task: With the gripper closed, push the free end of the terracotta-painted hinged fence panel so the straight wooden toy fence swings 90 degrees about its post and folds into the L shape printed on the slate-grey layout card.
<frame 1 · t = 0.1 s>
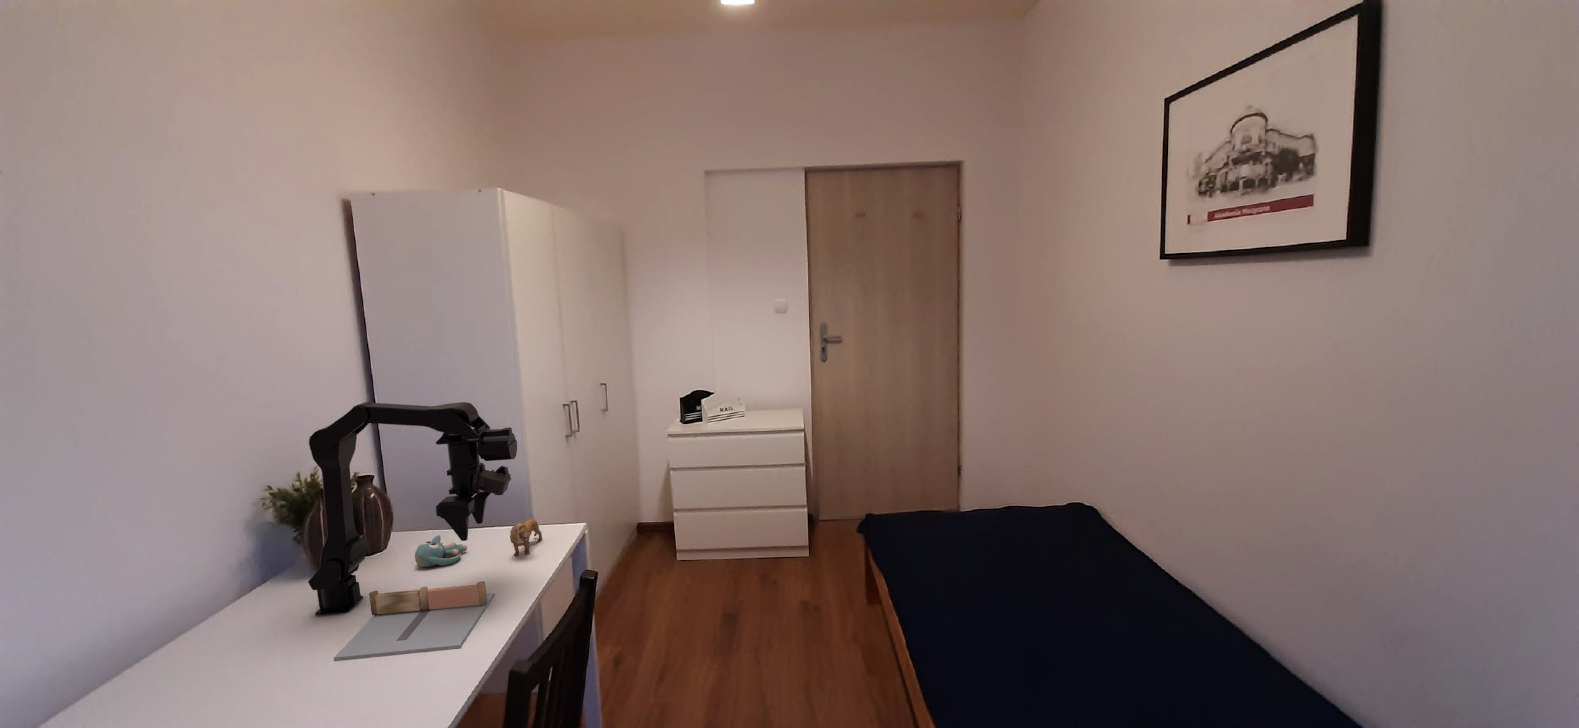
hand: (472, 531, 137), 15 cm above the table, tool pointing down, fingers open, 9 cm apart
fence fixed: (426, 612, 133), resting on layout card
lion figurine: (528, 550, 162), on the table
layout card: (421, 624, 128), on the table
fence panel: (454, 595, 133), point 3 cm above the table, hinge at 0.0°
stuffed animal: (442, 561, 157), on the table
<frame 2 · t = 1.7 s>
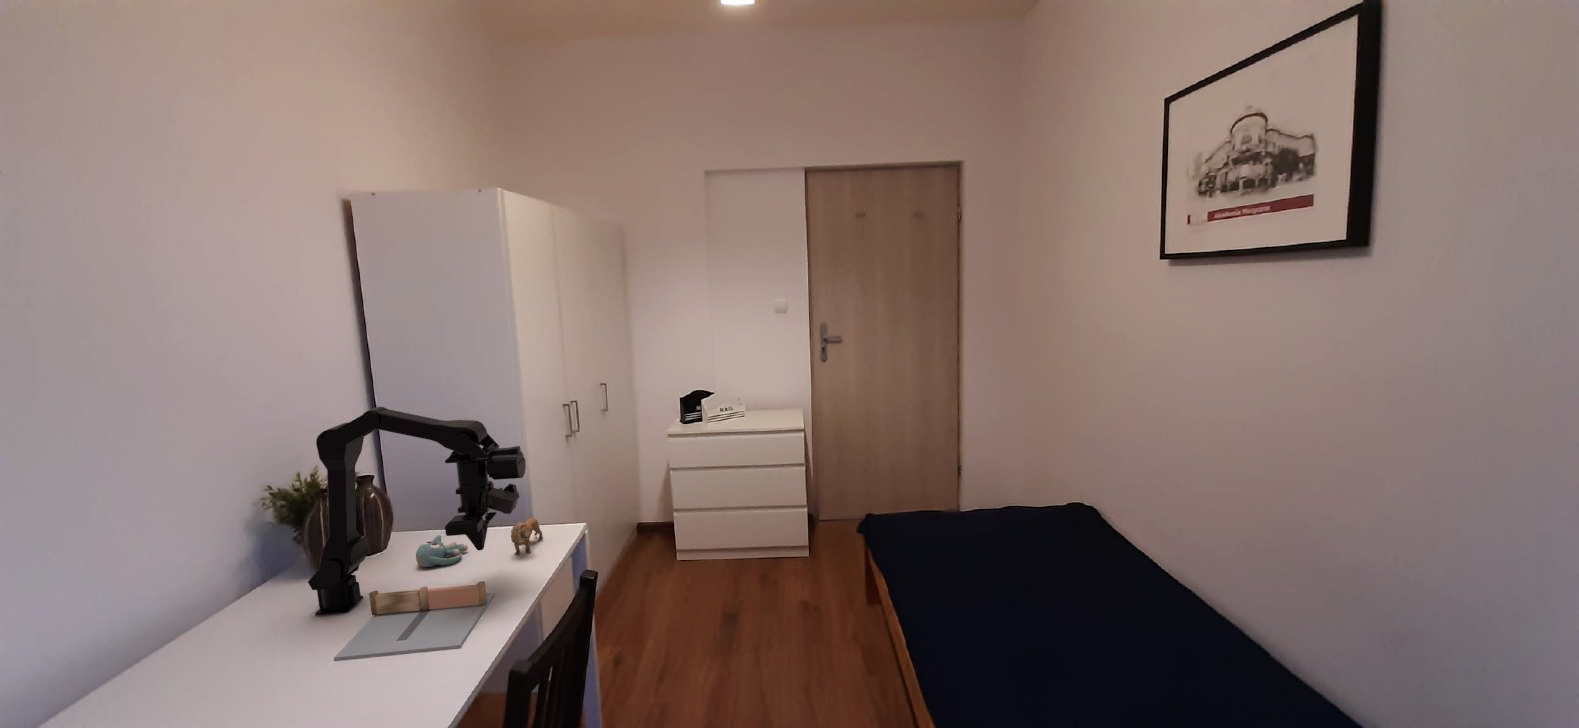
hand: (480, 549, 138), 10 cm above the table, tool pointing down, fingers closed
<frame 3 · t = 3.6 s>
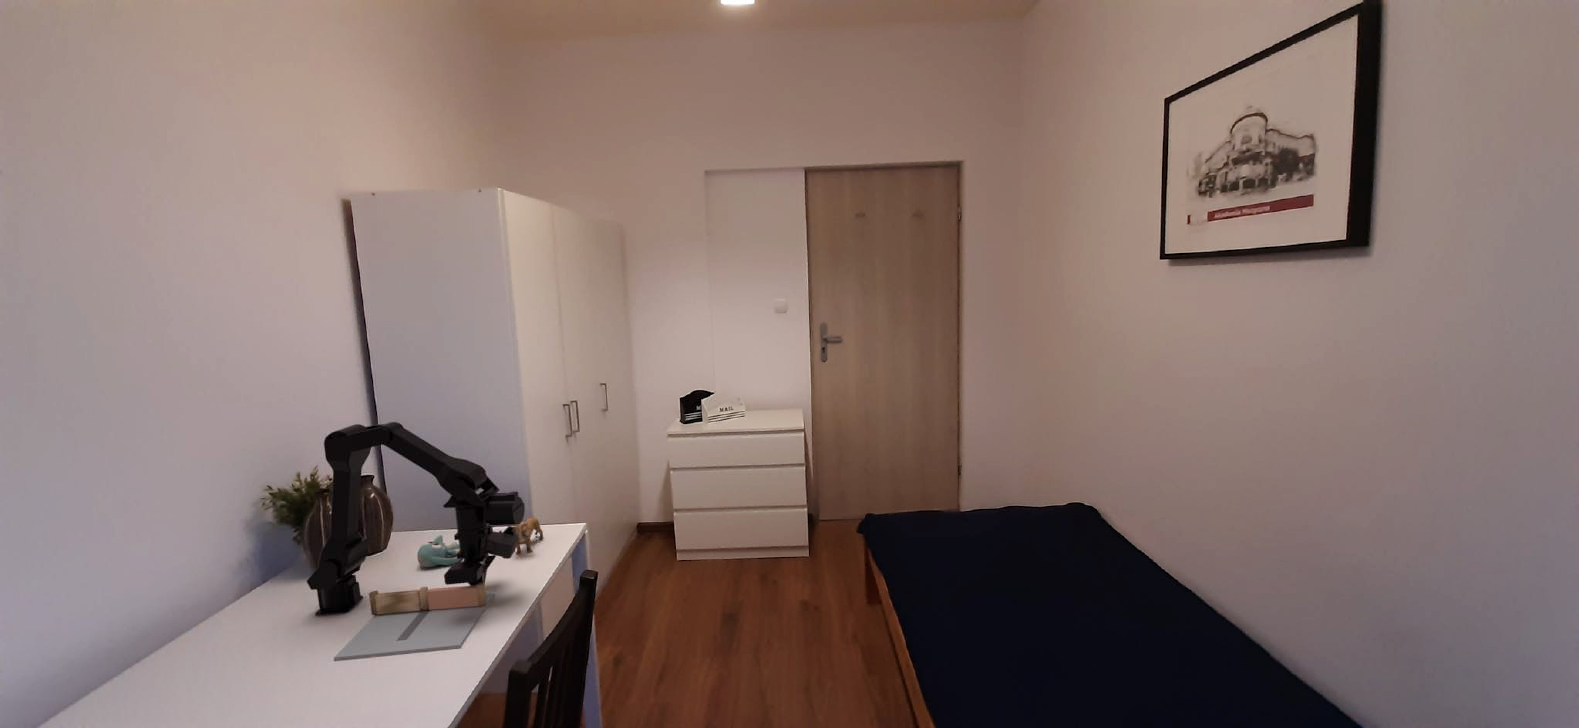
hand: (480, 594, 136), 2 cm above the table, tool pointing down, fingers closed
fence panel: (453, 596, 133), point 3 cm above the table, hinge at -2.4°, touching gripper
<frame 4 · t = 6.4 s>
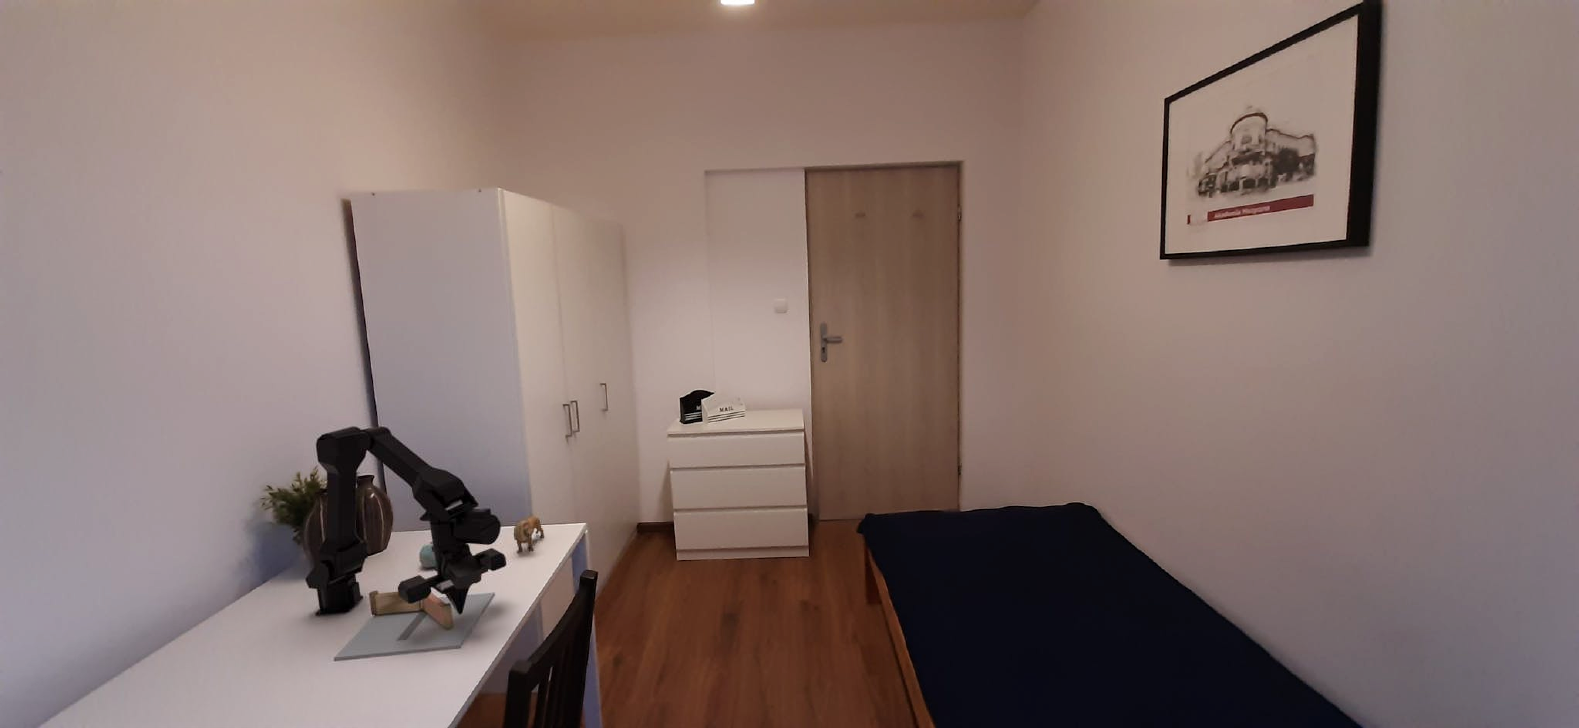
hand: (459, 613, 128), 2 cm above the table, tool pointing down, fingers closed
fence panel: (436, 607, 128), point 3 cm above the table, hinge at -48.0°, touching gripper
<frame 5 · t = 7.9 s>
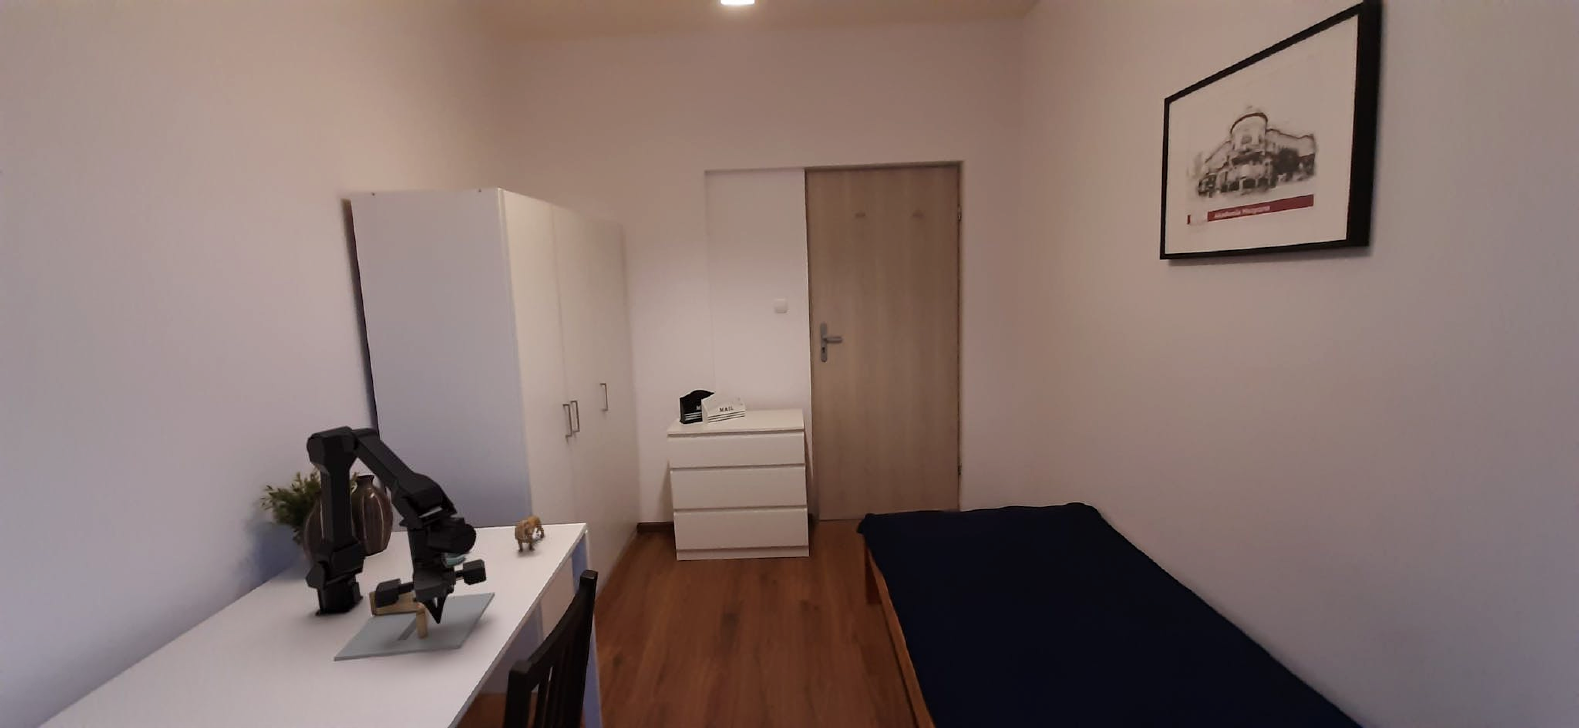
hand: (438, 622, 125), 2 cm above the table, tool pointing down, fingers closed
fence panel: (423, 611, 127), point 3 cm above the table, hinge at -71.0°, touching gripper
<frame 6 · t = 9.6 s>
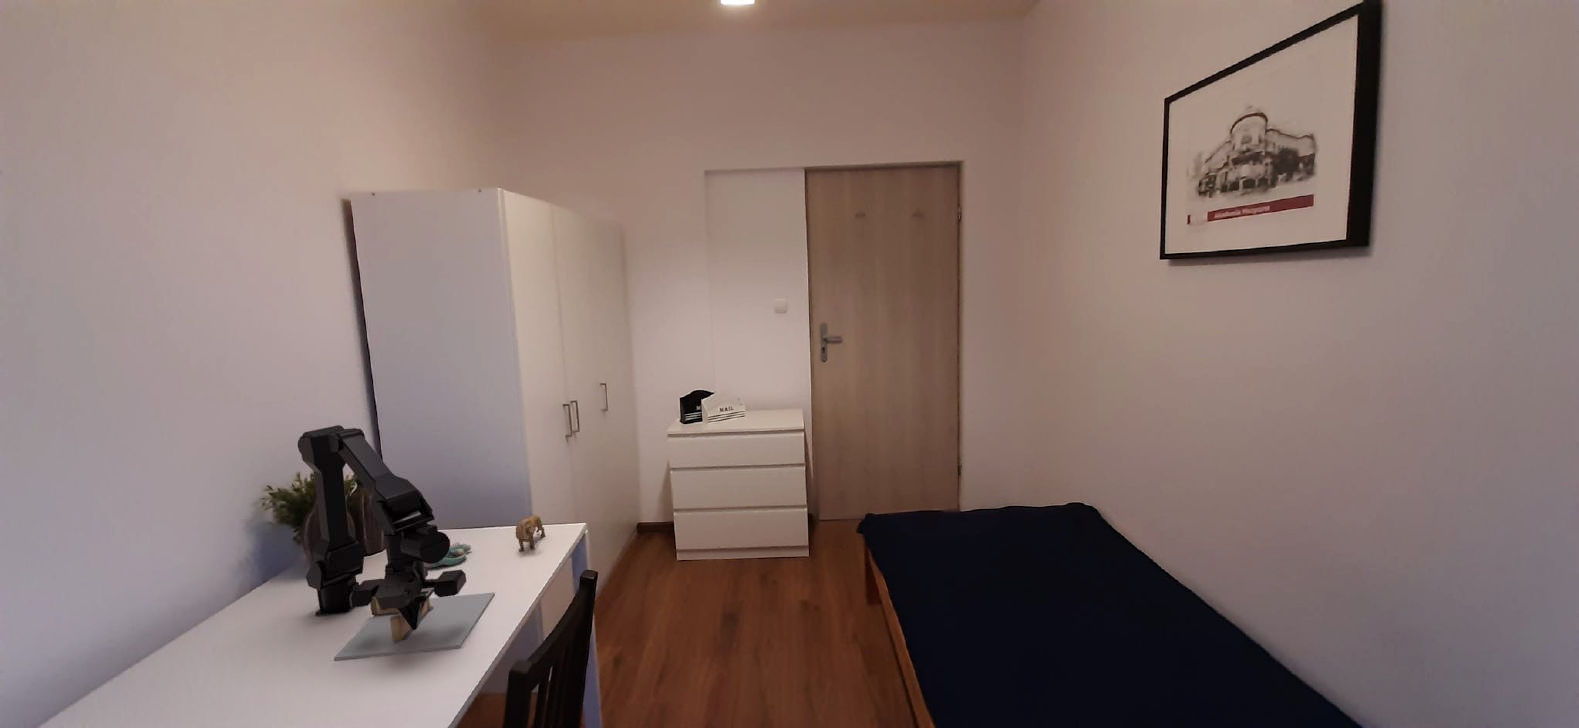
hand: (415, 628, 123), 2 cm above the table, tool pointing down, fingers closed
fence panel: (411, 612, 127), point 3 cm above the table, hinge at -93.2°, touching gripper
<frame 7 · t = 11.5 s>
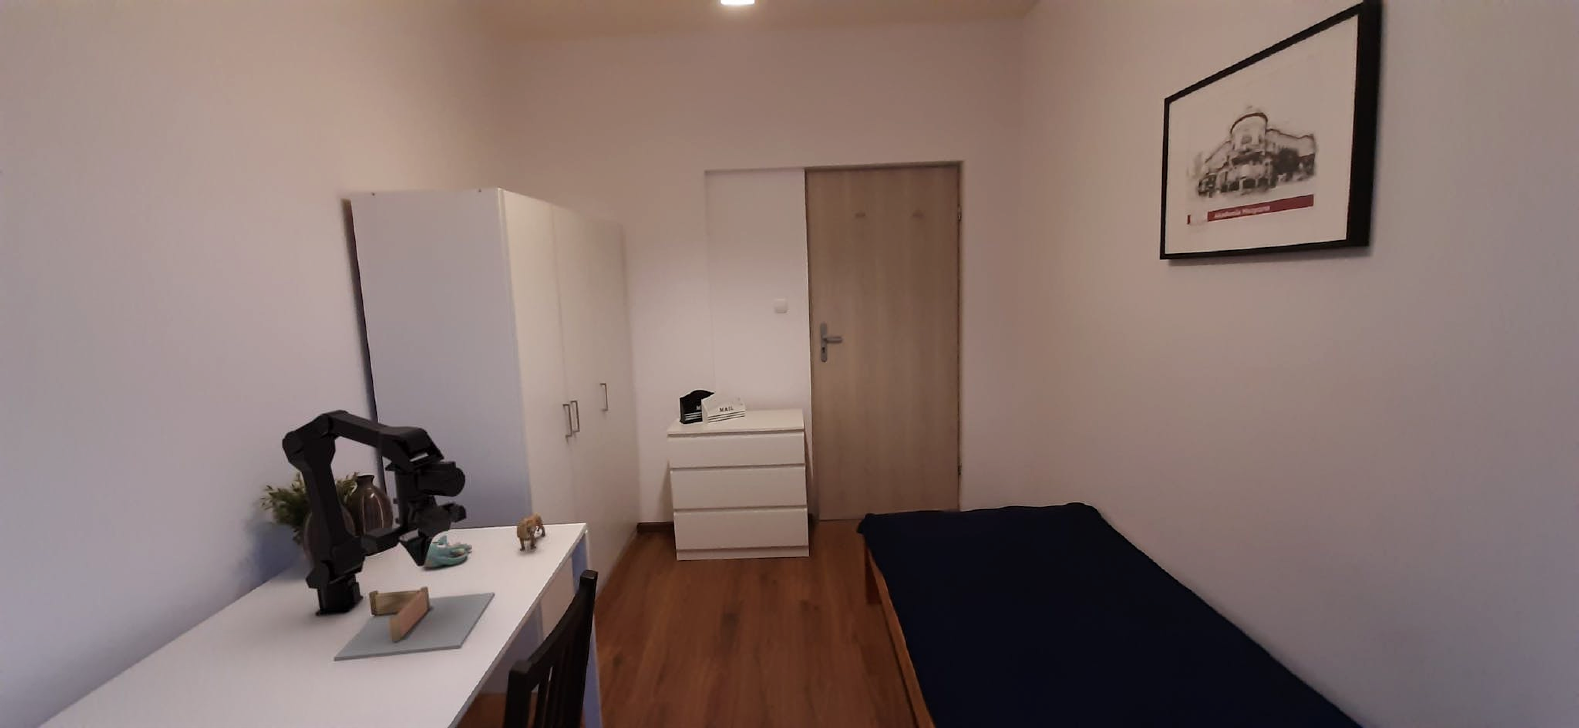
hand: (420, 565, 129), 11 cm above the table, tool pointing down, fingers closed
fence panel: (410, 612, 127), point 3 cm above the table, hinge at -93.7°
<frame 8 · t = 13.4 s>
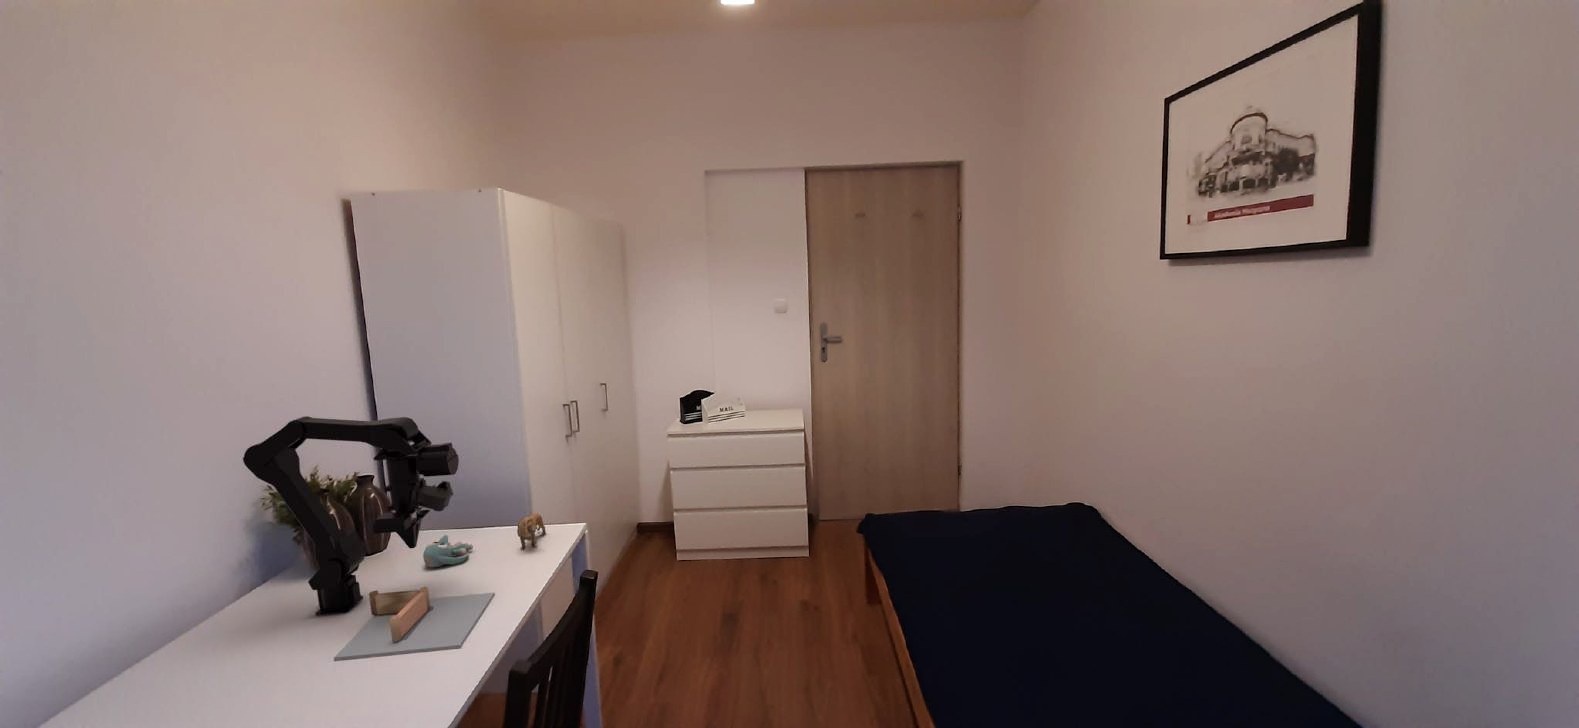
hand: (412, 547, 136), 12 cm above the table, tool pointing down, fingers closed
at the end: fence panel at -94° (first picture: +0°) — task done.
